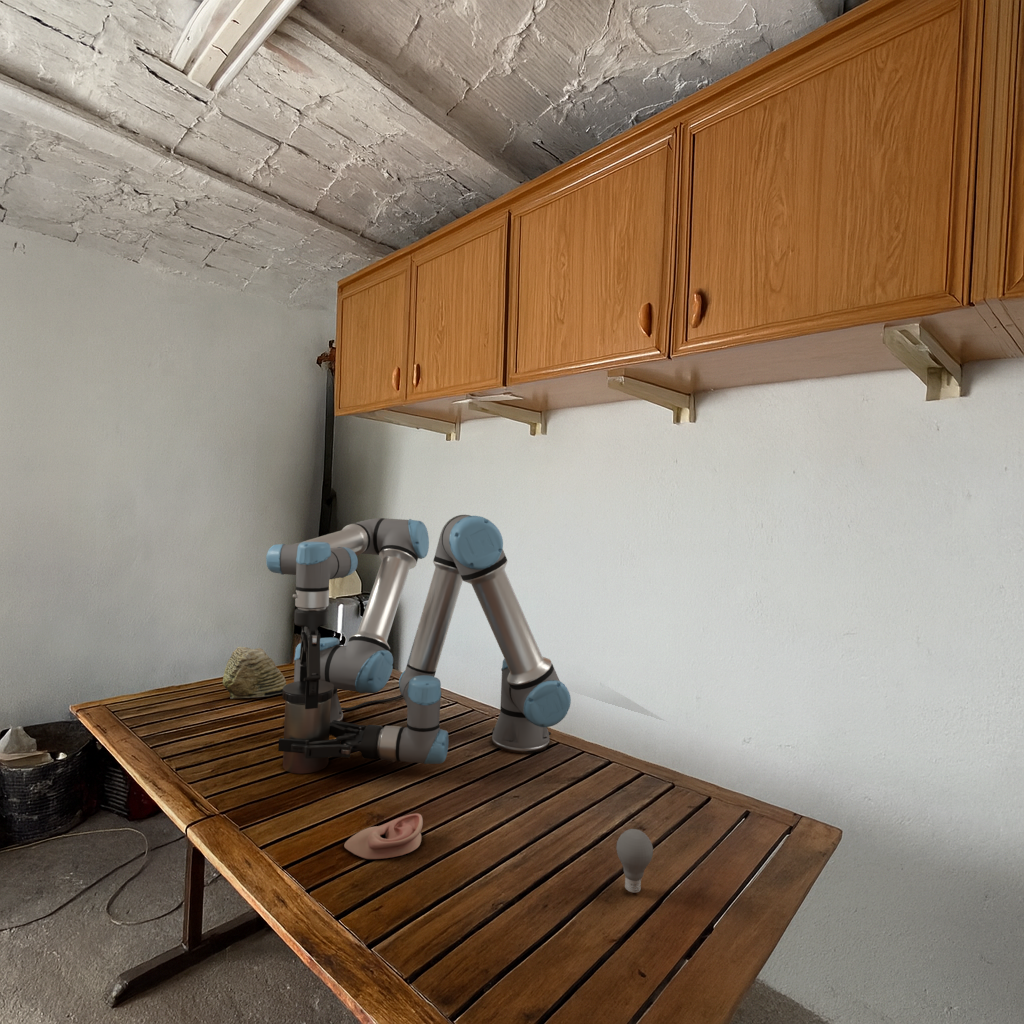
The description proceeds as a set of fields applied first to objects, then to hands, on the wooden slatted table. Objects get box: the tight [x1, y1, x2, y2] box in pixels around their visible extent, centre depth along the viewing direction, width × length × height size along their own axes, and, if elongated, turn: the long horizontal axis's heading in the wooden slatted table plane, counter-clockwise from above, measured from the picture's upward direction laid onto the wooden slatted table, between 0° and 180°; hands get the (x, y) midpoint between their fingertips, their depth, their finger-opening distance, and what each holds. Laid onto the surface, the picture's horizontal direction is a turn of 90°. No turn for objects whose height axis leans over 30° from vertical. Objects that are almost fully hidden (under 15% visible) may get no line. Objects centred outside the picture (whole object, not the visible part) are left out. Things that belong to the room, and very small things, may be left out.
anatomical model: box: [343, 813, 424, 860], centre depth 117 cm, size 13×4×12 cm
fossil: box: [222, 646, 287, 699], centre depth 198 cm, size 9×18×15 cm, turn 132°
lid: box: [281, 680, 334, 704], centre depth 149 cm, size 12×12×2 cm
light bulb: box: [615, 828, 654, 894], centre depth 106 cm, size 6×6×10 cm
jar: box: [282, 699, 331, 775], centre depth 149 cm, size 10×10×18 cm
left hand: (308, 700), depth 149 cm, fingers closed on lid, 11 cm apart
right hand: (289, 735), depth 150 cm, fingers closed on jar, 10 cm apart
